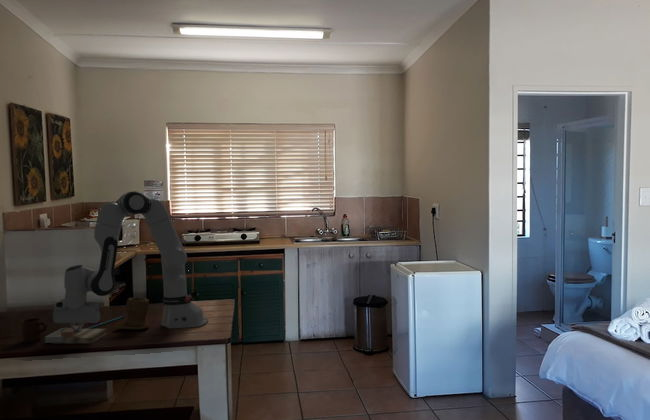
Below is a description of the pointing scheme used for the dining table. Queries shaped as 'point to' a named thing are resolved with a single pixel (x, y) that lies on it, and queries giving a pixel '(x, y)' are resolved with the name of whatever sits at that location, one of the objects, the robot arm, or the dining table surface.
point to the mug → (33, 330)
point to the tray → (55, 336)
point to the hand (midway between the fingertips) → (77, 332)
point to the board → (86, 336)
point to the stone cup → (135, 314)
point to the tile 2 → (68, 333)
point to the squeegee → (104, 322)
